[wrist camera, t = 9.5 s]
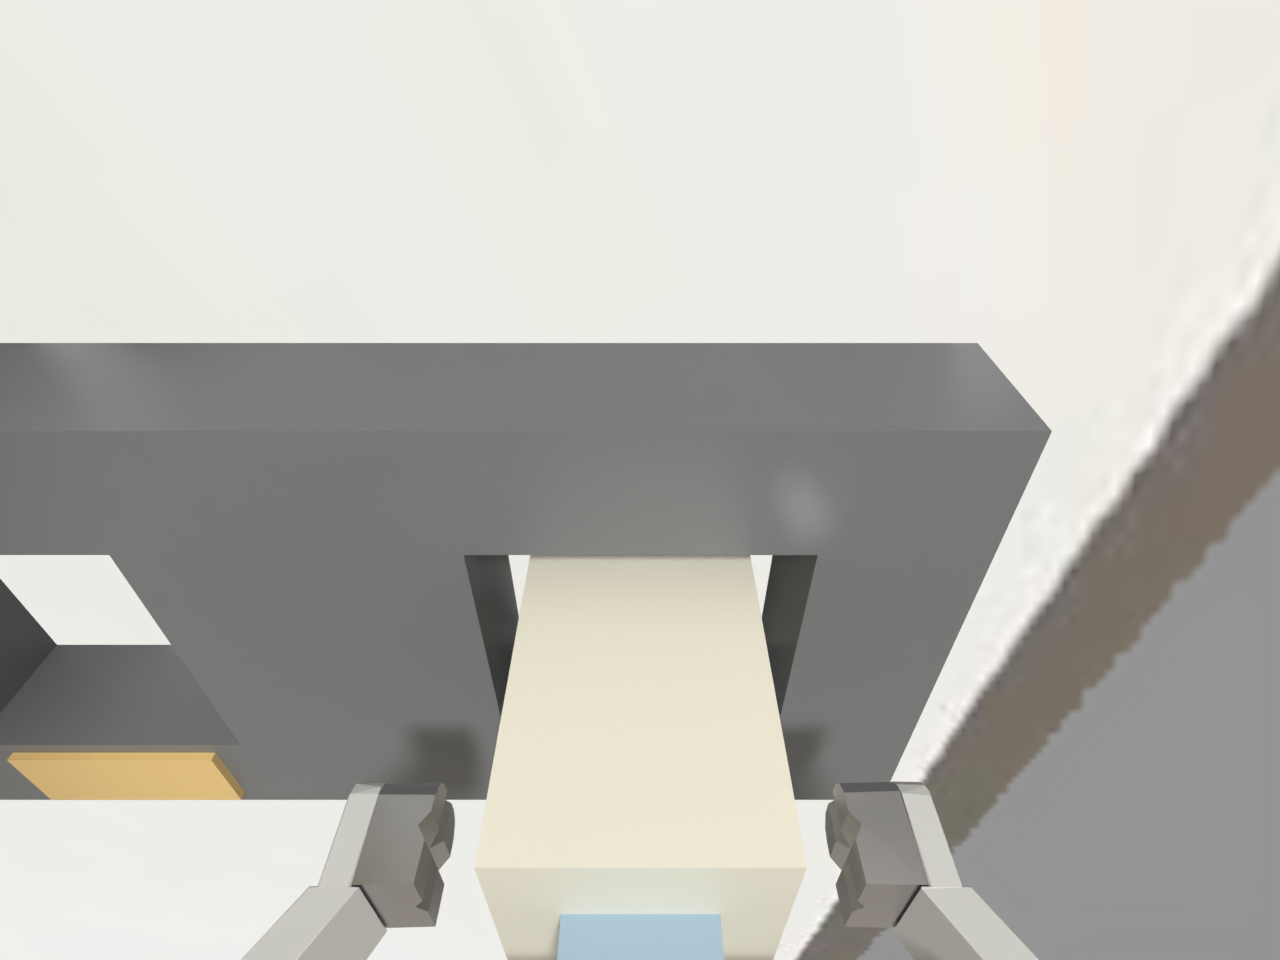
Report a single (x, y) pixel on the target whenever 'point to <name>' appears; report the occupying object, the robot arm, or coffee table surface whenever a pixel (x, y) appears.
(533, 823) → the plug
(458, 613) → the panel
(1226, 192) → the coffee table surface
